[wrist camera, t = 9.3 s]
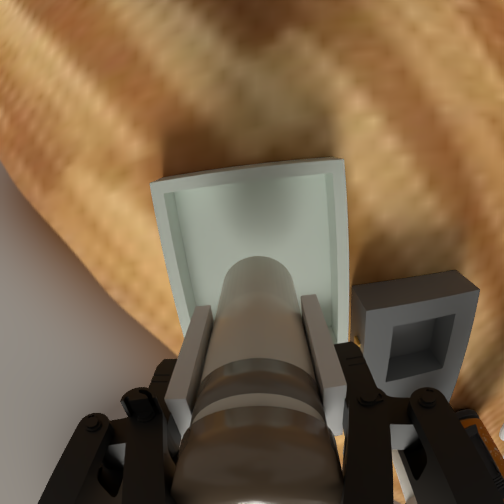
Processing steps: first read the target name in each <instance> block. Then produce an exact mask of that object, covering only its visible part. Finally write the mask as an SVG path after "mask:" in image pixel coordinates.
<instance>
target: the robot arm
mask: <svg viewBox="0 0 504 504" xmlns="http://www.w3.org/2000/svg"><path fill="white" fill-rule="evenodd" d="M301 310H302V320H303V324H304V329H305V333H306V337H307V342H308V346H309V351H310V355H311V359H312V364H313V368H314V373H315V378H316V382H317V385H318V387H319V390H320V395H321V400H322V404H323V409H324V412H325V417H326V422H327V426H328V427H329V428H330V429H331V431H332V433H333V434H334V436H338V435H342V432H343V429H344V433H345V441H344V449H343V454H344V455H343V468H342V474H343V479H344V488H343V492H342V497H341V501H340V504H393V466H392V450H398V453H399V455H400V458H401V460H402V463H403V466H404V468H405V471H406V474H407V476H408V479H409V482H410V484H411V487H412V490H413V493H414V495H415V498H416V501H417V504H504V501H503V499H502V497H501V495H500V493H499V491H498V489H497V487H496V485H495V483H494V481H493V479H492V477H491V475H490V473H489V472H488V470H487V468H486V466H485V464H484V462H483V460H482V459H481V457H480V455H479V453H478V451H477V450H476V448H475V446H474V444H473V443H472V441H471V439H470V437H469V436H468V434H467V432H466V431H465V429H464V427H463V425H462V424H461V422H460V420H459V419H458V417H457V415H456V414H455V412H454V411H453V409H452V407H451V406H450V404H449V402H448V401H447V399H446V398H445V396H444V395H443V394H442V393H441V392H440V391H439V390H437V389H435V388H431V387H423V388H419V389H417V390H415V391H414V392H413V393H412V394H411V397H410V398H402V397H391V396H388V395H386V393H385V392H383V391H382V390H381V389H379V388H377V386H376V384H375V381H374V379H373V376H372V374H371V372H370V369H369V367H368V365H367V364H366V360H365V358H364V357H363V353H362V351H361V349H360V347H358V346H357V345H356V344H355V343H354V342H352V341H351V342H345V343H338V344H333V341H332V338H331V335H330V333H329V330H328V327H327V324H326V321H325V318H324V315H323V312H322V310H321V307H320V304H319V301H318V298H317V296H316V294H311V295H303V296H301ZM213 324H214V320H213V315H212V310H211V305H204V306H196V307H195V309H194V312H193V315H192V318H191V321H190V324H189V327H188V330H187V332H186V335H185V338H184V341H183V344H182V347H181V350H180V353H179V356H178V359H164V360H163V361H162V362H161V363H160V364H159V365H158V366H157V368H156V370H155V373H154V376H153V378H152V380H151V383H150V385H149V388H145V387H139V388H135V389H132V390H130V391H128V392H127V393H126V394H124V395H123V397H122V399H121V401H120V402H121V404H122V406H123V408H124V409H125V412H126V413H127V415H128V417H127V418H123V419H118V420H112V421H109V419H108V417H107V416H105V415H104V414H101V413H92V414H89V415H87V416H85V417H84V418H83V419H82V420H81V421H80V422H79V424H78V426H77V428H76V430H75V432H74V433H73V435H72V437H71V439H70V441H69V443H68V445H67V446H66V448H65V450H64V452H63V454H62V456H61V458H60V460H59V462H58V464H57V466H56V468H55V469H54V471H53V473H52V476H51V477H50V479H49V481H48V483H47V485H46V488H45V490H44V492H43V494H42V496H41V498H40V500H39V502H38V504H177V503H176V502H175V500H174V499H173V498H172V496H171V495H170V491H171V487H172V482H173V477H174V473H175V468H176V463H177V459H178V454H179V450H180V447H179V445H180V441H181V439H182V438H183V435H184V433H185V432H186V430H187V429H188V428H189V427H190V422H191V418H192V413H193V408H194V404H195V399H196V395H197V391H198V388H199V386H200V383H201V378H202V374H203V369H204V365H205V360H206V355H207V351H208V346H209V342H210V337H211V333H212V329H213Z"/></svg>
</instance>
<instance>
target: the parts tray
mask: <svg viewBox="0 0 504 504" xmlns="http://www.w3.org/2000/svg"><path fill="white" fill-rule="evenodd" d="M150 188H151V194H152V200H153V205H154V210H155V216H156V221H157V226H158V231H159V235H160V240H161V245H162V250H163V254H164V259H165V263H166V268H167V272H168V276H169V281H170V285H171V289H172V293H173V297H174V301H175V305H176V309H177V313H178V317H179V321H180V324H181V328H182V332H183V336H184V338H185V335H186V332H187V330H188V327H189V324H190V321H191V318H192V315H193V312H194V309H195V307H196V306H204V305H211V310H212V315H213V320H215V315H216V311H217V307H218V302H219V298H220V294H221V289H222V285H223V281H224V278H225V275H226V273H227V272H228V270H229V269H230V268H231V267H232V266H233V265H234V264H235V263H237V262H238V261H240V260H242V259H244V258H248V257H252V256H265V257H269V258H272V259H275V260H277V261H278V262H280V263H281V264H283V265H284V266H285V267H286V268H287V270H288V271H289V272H290V274H291V276H292V279H293V282H294V287H295V291H296V295H297V299H298V303H299V307H300V312H301V316H302V310H301V296H303V295H311V294H316V296H317V298H318V301H319V304H320V307H321V310H322V312H323V315H324V318H325V321H326V324H327V327H328V330H329V333H330V335H331V338H332V341H333V344H338V343H345V342H348V324H349V239H348V213H347V194H346V179H345V165H344V159H341V158H336V157H322V158H309V159H298V160H287V161H277V162H268V163H259V164H250V165H242V166H234V167H227V168H219V169H212V170H206V171H199V172H193V173H186V174H180V175H174V176H168V177H163V178H160V179H158V180H156V181H153V182H151V183H150Z"/></svg>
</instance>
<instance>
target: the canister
mask: <svg viewBox="0 0 504 504" xmlns="http://www.w3.org/2000/svg"><path fill="white" fill-rule="evenodd" d="M455 414H456V415H457V417H458V419H459V420H460V422H461V424H462V425H463V427H464V429H465V431H466V432H467V434H468V436H469V437H470V439H471V441H472V443H473V444H474V446H475V448H476V450H477V451H478V453H479V455H480V457H481V459H482V460H483V462H484V464H485V466H486V468H487V470H488V472H489V473H490V475H491V477H492V479H493V481H494V483H495V485H496V487H497V489H498V491H499V493H500V495H501V497H502V499H503V501H504V459H503V457H502V455H501V453H500V452H499V450H498V448H497V446H496V445H495V443H494V441H493V439H492V438H491V436H490V434H489V433H488V431H487V429H486V428H485V426H484V424H483V423H482V421H481V420H480V418H479V416H478V415H477V413H476V412H475V411H474V410H472V409H466V410H461V411H458V412H456V413H455Z"/></svg>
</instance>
